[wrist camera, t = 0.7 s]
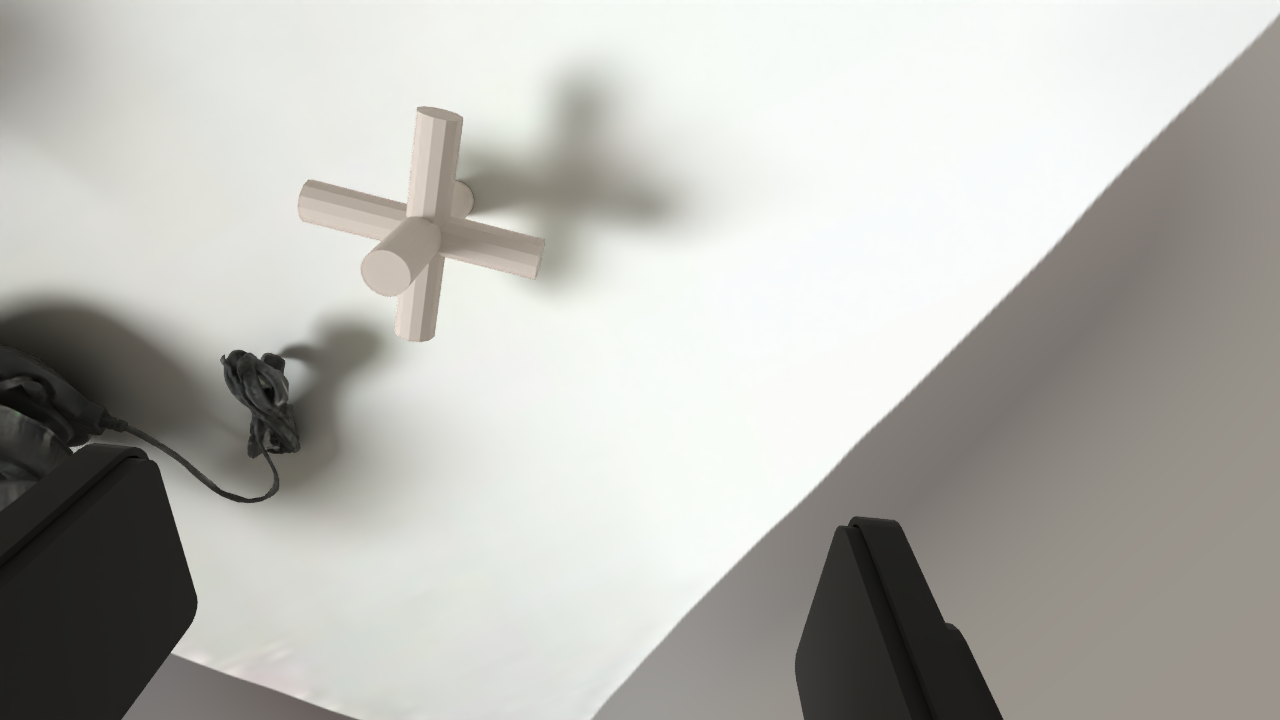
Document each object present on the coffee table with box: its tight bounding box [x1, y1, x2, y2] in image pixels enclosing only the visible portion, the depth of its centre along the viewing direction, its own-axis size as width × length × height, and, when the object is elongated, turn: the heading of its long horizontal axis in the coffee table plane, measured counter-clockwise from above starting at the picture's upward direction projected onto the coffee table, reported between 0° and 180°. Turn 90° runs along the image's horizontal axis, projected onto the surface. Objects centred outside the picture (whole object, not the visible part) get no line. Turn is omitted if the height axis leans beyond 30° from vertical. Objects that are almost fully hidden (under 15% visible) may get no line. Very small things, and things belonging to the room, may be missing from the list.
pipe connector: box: [298, 107, 545, 342], centre depth 29 cm, size 10×10×10 cm
